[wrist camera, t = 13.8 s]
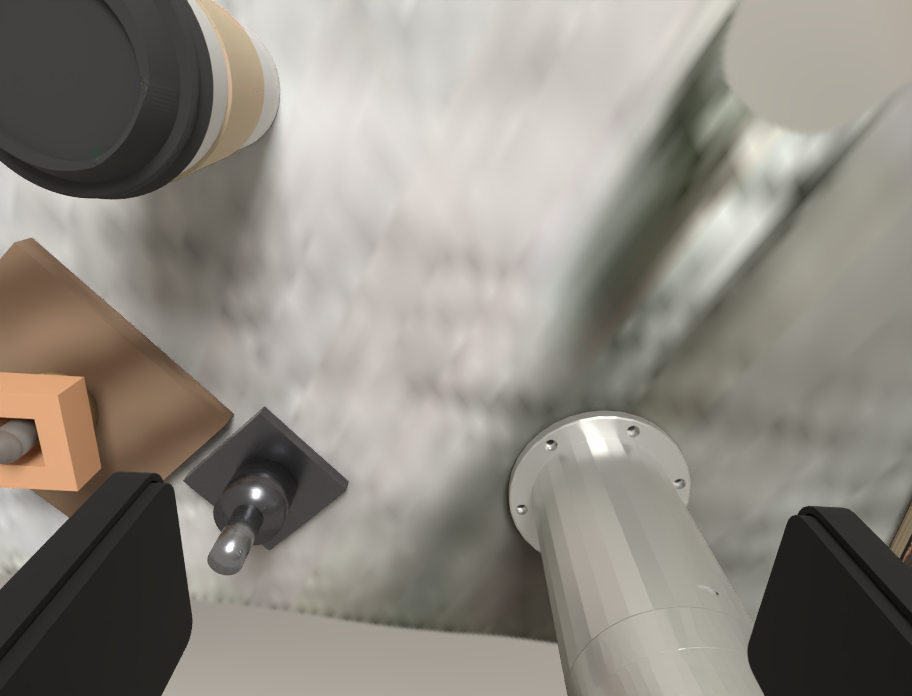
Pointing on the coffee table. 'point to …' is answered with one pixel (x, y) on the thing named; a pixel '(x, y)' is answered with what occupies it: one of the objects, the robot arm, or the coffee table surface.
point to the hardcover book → (904, 540)
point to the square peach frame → (50, 431)
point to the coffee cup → (127, 92)
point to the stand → (261, 488)
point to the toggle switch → (97, 374)
